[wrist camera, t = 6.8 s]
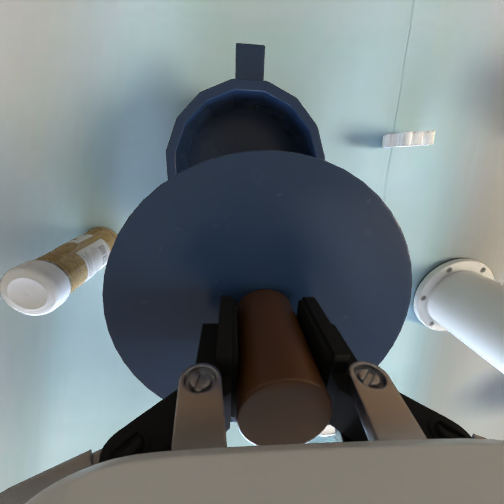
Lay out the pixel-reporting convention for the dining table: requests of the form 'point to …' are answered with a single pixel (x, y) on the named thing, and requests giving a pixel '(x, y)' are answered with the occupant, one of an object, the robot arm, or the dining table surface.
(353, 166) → the dining table surface
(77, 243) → the sprinkles bottle
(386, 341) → the pot lid
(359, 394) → the robot arm
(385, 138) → the white marshmallow cluster
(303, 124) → the pot
